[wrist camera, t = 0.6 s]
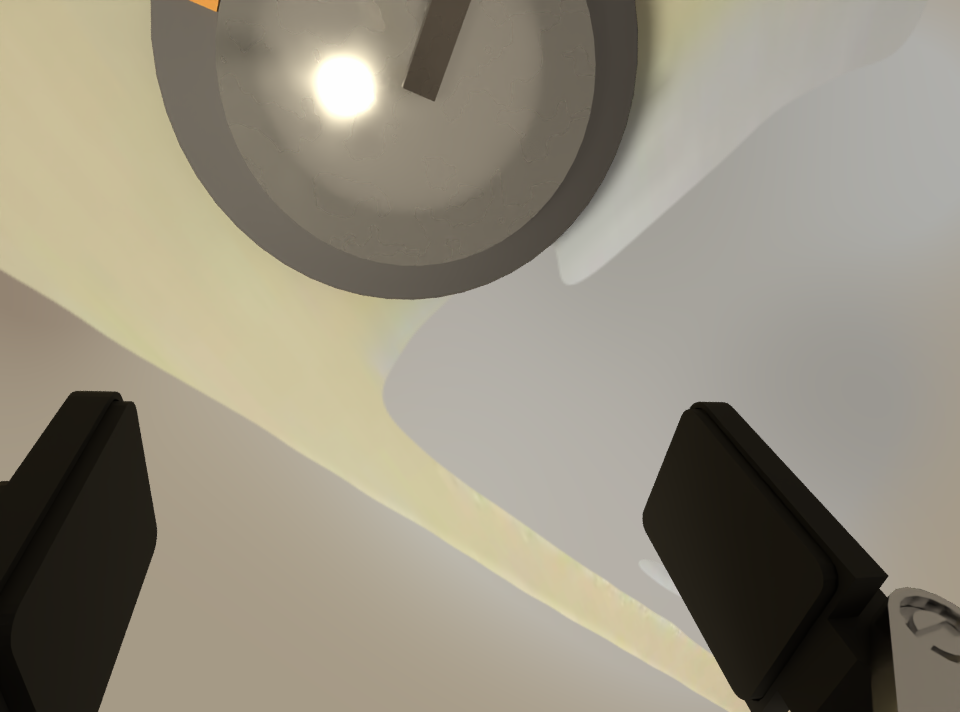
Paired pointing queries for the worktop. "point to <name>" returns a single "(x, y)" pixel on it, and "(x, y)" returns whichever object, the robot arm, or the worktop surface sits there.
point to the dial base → (225, 175)
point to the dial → (407, 115)
